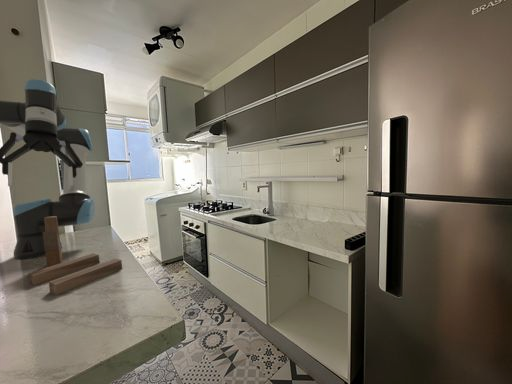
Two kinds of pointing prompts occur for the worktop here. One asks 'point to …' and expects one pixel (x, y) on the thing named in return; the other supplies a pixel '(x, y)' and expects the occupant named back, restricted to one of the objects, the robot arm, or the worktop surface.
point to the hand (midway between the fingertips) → (42, 185)
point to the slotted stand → (77, 277)
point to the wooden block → (52, 241)
